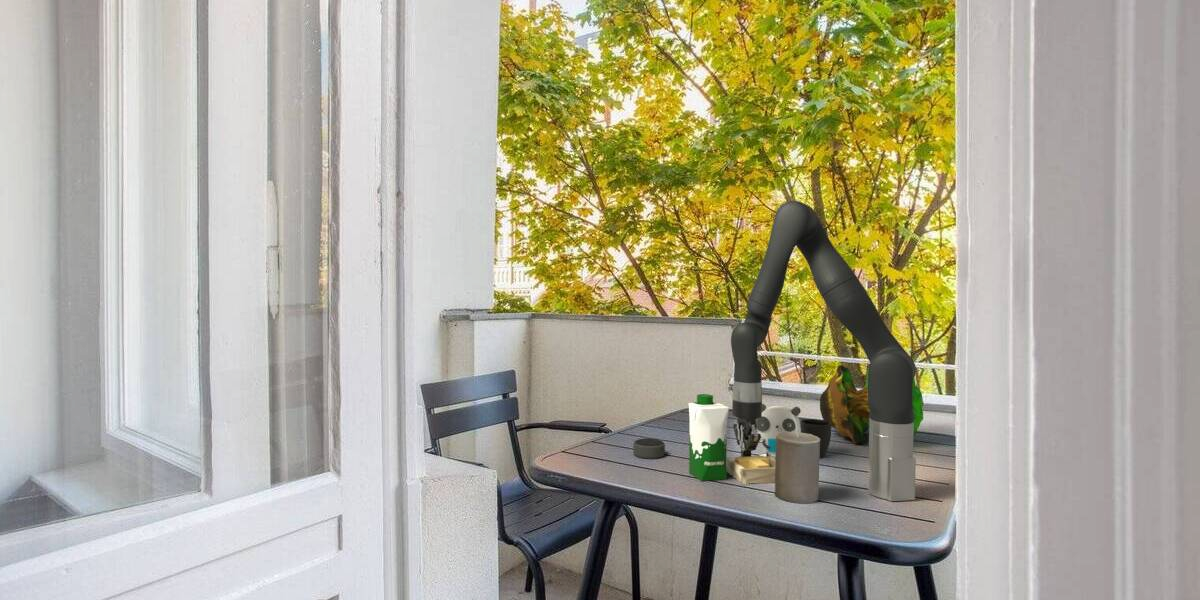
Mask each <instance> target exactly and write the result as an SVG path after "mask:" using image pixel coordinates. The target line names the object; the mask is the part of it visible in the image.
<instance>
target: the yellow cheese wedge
mask: <svg viewBox="0 0 1200 600" xmlns="http://www.w3.org/2000/svg"><path fill="white" fill-rule="evenodd" d="M733 460H734V461H735V462H737V463H738V464H739V465H741V466H742V467H743V468H745V469H746V468H768V467H769V459H768V458H766V457H765V456H760V455H755V456H754V455H753V456H752V455H751V456H749V457H741V456H735V457H734V458H733Z"/></svg>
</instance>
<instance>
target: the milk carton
mask: <svg viewBox="0 0 1200 600" xmlns="http://www.w3.org/2000/svg"><path fill="white" fill-rule="evenodd" d="M729 411H730V407H729V406H727V405H725V404H722V403H719V402H717V401H714V395H712V394H708V393H707V394H706V393H699V394H697V395H696V401H693V402H688V414H689V415H688V417H689V440H688V441H689V442H688V443H689V447H688V449H689V450H688V451H689V452H688V455H689V456H688V459H689V460H688V461H689V462H688V468H689V469H688V471H689V474H690V475H692V476H693V477H695V478H696V479H698V480H699V482H705V481H706V482H708V481H718V480H719V481H720V479H721V480H727V476H728V475H727V474H728V472H727V469H726V458H727V446H728V445H727V443H728V441H727V439H728V438H727V437H728V433H727V432H728V430H727V429H728V417H729Z"/></svg>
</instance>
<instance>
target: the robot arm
mask: <svg viewBox="0 0 1200 600" xmlns="http://www.w3.org/2000/svg"><path fill="white" fill-rule="evenodd" d="M795 248H797V249H798V251H799V252H800V253H801V254H802V256H803V257H804V260H805V261H806V262H807V265H808V267H809V269H810V273H811V276H812V278H813V281H814V284H815V286H816V289H817V290H818V293H819V295H820V296H821V297H822V299H823V302H825V304H826V306H827V307H828V309H829V311H831V313H832V314H833V316H835V318H836V319H837V321H838V322H839V323H841V324H842V325H843V327H844V328H845V329H846V330H847V331H848V332H849V334H851V335H852V336H853V337H854V338H855V340H857V342H858V344H859V345H860V347H861V349H862V350H863V352H864V354H865V356H866V357H867V359H868V361H869V364H868V368H867V371H868V407H869V428H868V429H869V430H868V469H867V470H868V471H867V472H868V473H867V474H868V478H867V479H868V483H867V485H868V486H867V488H868V489H867V491H868V493H869V494H870V495H872V496H874V497H877V498H880V499H884V500H888V501H890V502H896V501H897V502H900V501H901V502H902V501H903V502H904V501H915V500H916V465H917V464H916V463H917V461H916V460H917V459H916V458H915V457H914V437H913V434H914V410H913V379H914V380H915V377H916V374H917V366H916V364H915V361H914V360H913V358H912V356H911V355H910V354H909V353H908V352H907V351H906V350H905V348H904V347H903V346H902V345H901V344H900V343H899V341H898V340H897V339H896V337H895V336H894V335H893V333H892V332H891V331H890V330H889V329H888V327H887V325H886V324H885V322H884V320H883V318H882V316H881V314H880V312H879V310H878V309H877V307H876V305H875V303H874V302H873V300H872V298H871V297H870V295H869V293H868V292H867V290H866V289H865V286H864V285H863V284H862V282H861V281H860V279H859V278H858V276H857V275H856V273H855V272H854V271H853V269H852V267H850V265H849V264H848V262H847V261H846V260H845V258H843V256H842V255H841V253H840V252H839V251H838V250H837V249H836V248H835V247H834V245H833V243H832V242H831V240H830V238H829V236H828V234H827V232H826V230H825V228H824V227H823V225H822V222H821V220H820V219H819V216H818V214H817V213H816V211H815V210H814V208H813V207H811V206H810V205H808V204H806V203H804V202H801V201H797V200H789V201H786V202H784V203H782V204H781V205H779V207H778V208H777V209H776V212H775V214H774V218H773V221H772V227H771V230H770V234H769V239H768V244H767V247H766V250H765V255H764V258H763V260H762V263H761V265H760V269H759V272H758V274H757V277H756V280H755V282H754V285H753V287H752V289H751V291H750V294H749V297H748V299H747V302H746V309H747V313H746V316H745V318H744V322H741V323H738V324H737V325H735V326H734V328H733V329H732V331H731V337H730V345H731V352H732V358H733V359H732V360H733V362H734V363H733V364H734V366H733V386H732V409H731V411H732V412H731V414H732V416H733V417H735V418H737V419H736V422H737V423H733V424H732V428H733V431H734V436H735V440H736V443H737V446H739V449H740V451H741V452H740V457H749V456H752V451H756V449H757V447H758V445H759V444H760V440H761V439H762V436H761V434H759V433H757V432H758V430H757V425H756V422H757V419H758V418H760V417H761V416H762V404H763V387H762V385H763V384H762V373H763V372H762V371H763V370H762V369H763V367H762V363H761V360H759V357H758V348H759V347H760V346H761V345H762V344H763V343H764V342H765V340H766V338H767V335H768V334H769V330H770V325H771V321H772V315H773V313H774V311H775V309H776V307H777V304H778V302H779V300H780V296H781V294H782V291H783V288H784V285H785V281H786V276H787V270H788V266H789V262H790V259H791V256H792V254H793V251H794V249H795Z"/></svg>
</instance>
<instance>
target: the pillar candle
mask: <svg viewBox="0 0 1200 600" xmlns="http://www.w3.org/2000/svg"><path fill="white" fill-rule="evenodd" d="M820 460H821V458H820V438H818V437H816V436H814V435H811V434H806V433H801V431H800V432H798V431H797V432H782V433H778V434H777V435H776V458H775V483H774V496H775V497H776V498H777V497H778V498H777V499H780V500H782V501H784V500H785V502H788V501H790V503H792V502H796V503H795V504H802V503H803V504H805V505H806V504H813V503H816V502H817V501H819V493H820V492H819V489H820V488H819V487H820ZM803 504H802V505H803Z"/></svg>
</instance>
